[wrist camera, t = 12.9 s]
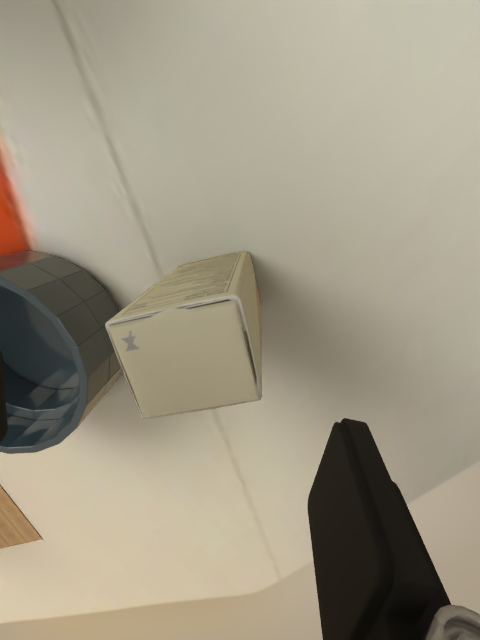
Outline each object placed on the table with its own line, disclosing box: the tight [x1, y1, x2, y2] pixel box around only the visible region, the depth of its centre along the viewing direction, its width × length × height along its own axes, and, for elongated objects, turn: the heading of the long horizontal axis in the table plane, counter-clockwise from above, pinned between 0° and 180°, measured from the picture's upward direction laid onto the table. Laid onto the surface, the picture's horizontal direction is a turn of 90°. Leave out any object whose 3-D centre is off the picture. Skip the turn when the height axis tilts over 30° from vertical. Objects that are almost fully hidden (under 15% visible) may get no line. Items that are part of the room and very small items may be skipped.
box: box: [105, 251, 262, 418], centre depth 17 cm, size 5×4×11 cm
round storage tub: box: [0, 250, 122, 454], centre depth 22 cm, size 12×12×6 cm
